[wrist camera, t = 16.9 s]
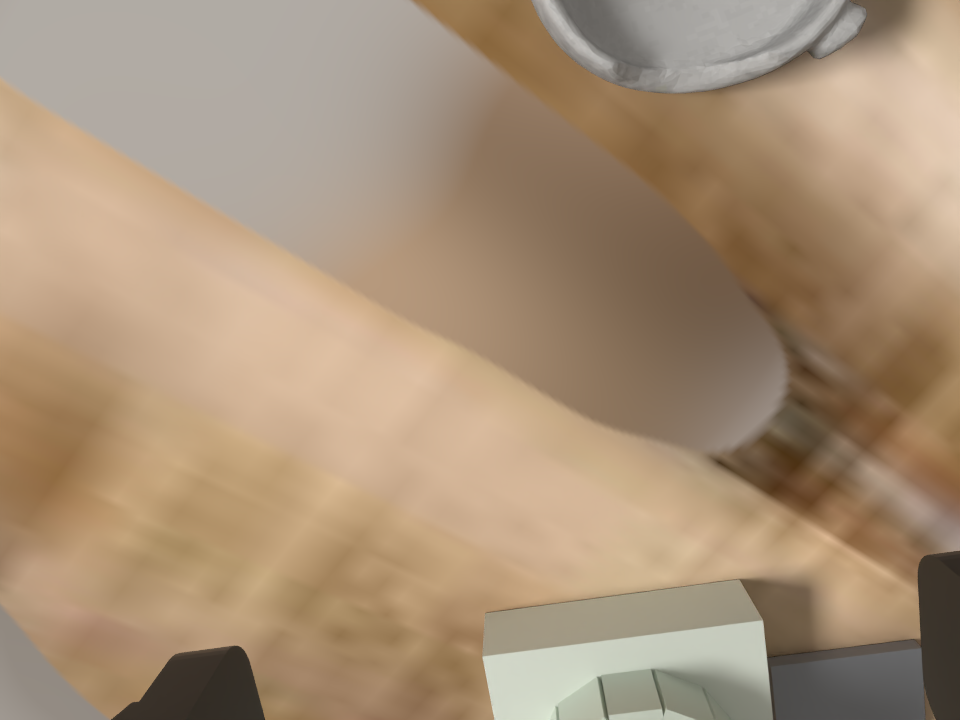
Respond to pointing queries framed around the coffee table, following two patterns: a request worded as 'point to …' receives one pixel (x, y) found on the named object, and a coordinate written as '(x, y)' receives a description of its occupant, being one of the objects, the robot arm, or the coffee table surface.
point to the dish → (695, 38)
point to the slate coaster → (849, 683)
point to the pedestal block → (631, 657)
